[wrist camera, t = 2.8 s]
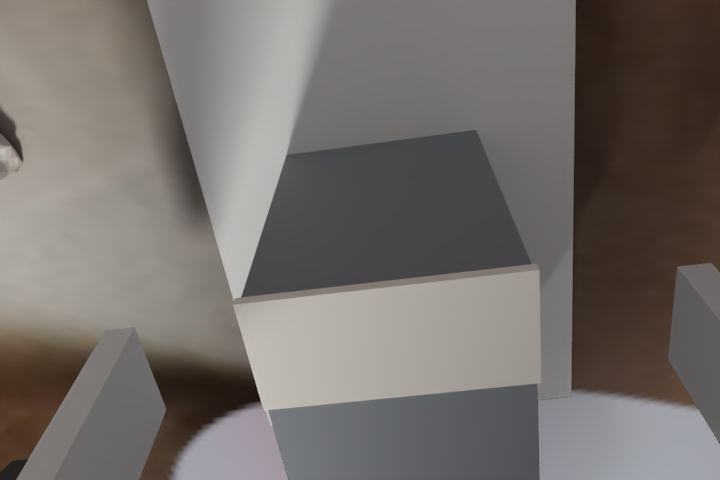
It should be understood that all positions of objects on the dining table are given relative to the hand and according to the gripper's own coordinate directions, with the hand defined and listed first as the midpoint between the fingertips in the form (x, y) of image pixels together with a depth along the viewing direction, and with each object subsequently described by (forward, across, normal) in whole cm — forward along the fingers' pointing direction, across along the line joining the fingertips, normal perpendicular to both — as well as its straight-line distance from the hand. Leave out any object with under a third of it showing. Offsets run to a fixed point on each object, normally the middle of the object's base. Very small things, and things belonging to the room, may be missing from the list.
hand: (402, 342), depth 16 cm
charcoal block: (+3, 0, 0) cm, 3 cm away
